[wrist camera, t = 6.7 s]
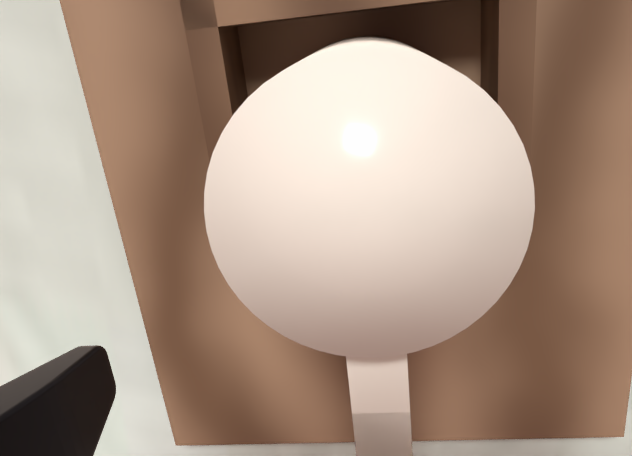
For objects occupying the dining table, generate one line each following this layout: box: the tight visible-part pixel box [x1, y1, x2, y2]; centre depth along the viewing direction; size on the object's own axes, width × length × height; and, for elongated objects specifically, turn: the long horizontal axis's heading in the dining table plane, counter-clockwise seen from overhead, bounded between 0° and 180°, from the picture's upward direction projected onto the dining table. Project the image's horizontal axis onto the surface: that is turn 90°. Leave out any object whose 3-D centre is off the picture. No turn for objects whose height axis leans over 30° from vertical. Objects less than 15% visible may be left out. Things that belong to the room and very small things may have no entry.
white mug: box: [204, 36, 535, 456], centre depth 15 cm, size 10×6×9 cm, turn 6°
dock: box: [60, 0, 632, 445], centre depth 19 cm, size 20×20×4 cm
